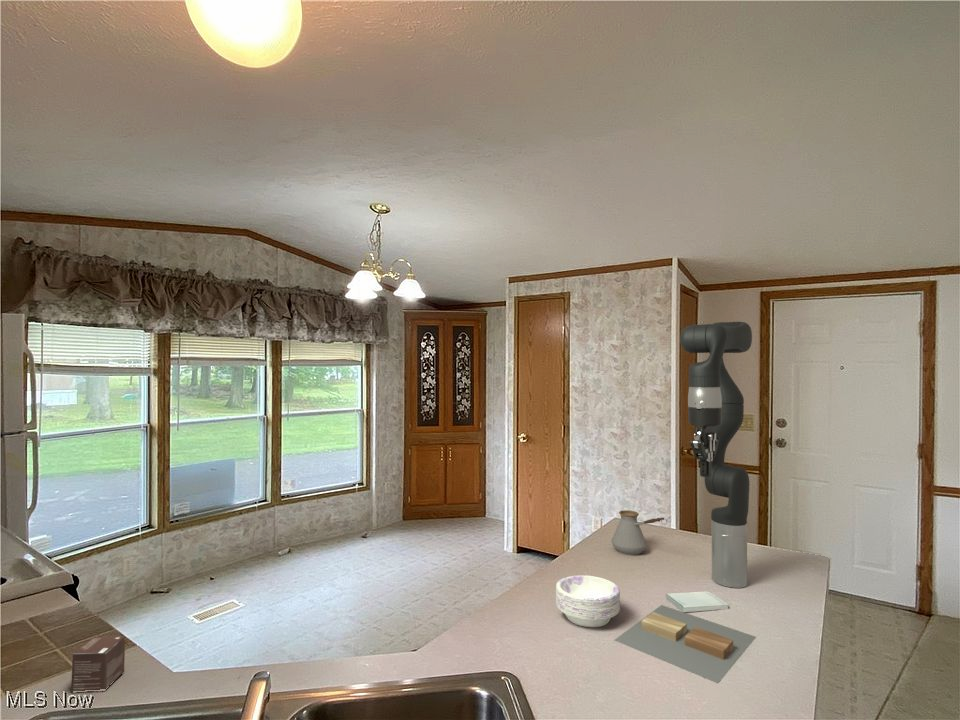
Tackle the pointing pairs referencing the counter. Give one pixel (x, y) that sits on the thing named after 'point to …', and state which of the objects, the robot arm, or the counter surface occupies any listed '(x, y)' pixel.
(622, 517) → the coffee pot
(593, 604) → the paper bowls
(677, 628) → the pale oak slab
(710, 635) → the walnut slab
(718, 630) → the rubber mat
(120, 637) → the box
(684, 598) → the hard drive
